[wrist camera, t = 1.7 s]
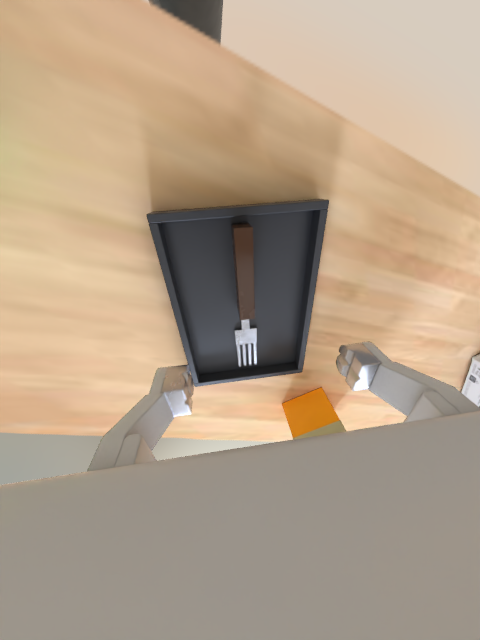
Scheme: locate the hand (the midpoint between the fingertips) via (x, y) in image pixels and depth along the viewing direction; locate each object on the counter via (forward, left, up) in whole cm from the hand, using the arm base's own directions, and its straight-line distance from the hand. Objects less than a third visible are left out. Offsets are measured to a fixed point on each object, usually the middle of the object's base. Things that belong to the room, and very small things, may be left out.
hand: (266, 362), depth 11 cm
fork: (+4, 0, -13) cm, 14 cm away
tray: (+4, 0, -14) cm, 14 cm away
